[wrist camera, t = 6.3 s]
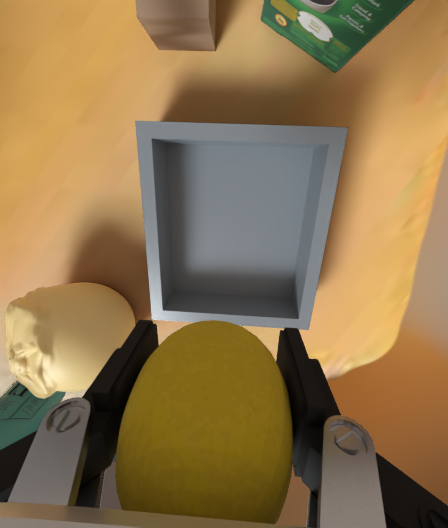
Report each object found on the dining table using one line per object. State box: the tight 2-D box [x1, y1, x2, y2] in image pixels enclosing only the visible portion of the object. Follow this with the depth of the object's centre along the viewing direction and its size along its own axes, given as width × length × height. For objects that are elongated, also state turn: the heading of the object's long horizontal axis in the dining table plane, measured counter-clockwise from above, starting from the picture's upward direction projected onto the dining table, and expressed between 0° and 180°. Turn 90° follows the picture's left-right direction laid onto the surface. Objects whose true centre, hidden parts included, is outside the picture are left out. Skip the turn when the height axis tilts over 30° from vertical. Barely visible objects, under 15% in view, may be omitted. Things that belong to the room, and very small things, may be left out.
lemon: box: [116, 320, 293, 524], centre depth 9 cm, size 6×6×8 cm
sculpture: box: [5, 282, 135, 399], centre depth 27 cm, size 11×12×11 cm
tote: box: [135, 121, 348, 330], centre depth 24 cm, size 16×18×5 cm
